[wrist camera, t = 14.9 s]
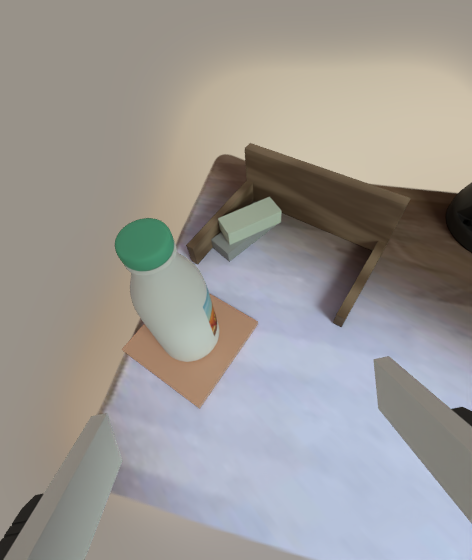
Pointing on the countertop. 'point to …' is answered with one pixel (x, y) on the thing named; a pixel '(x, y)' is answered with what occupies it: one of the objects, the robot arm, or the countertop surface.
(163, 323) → the milk bottle
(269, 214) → the offcut upper
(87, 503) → the robot arm
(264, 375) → the countertop surface
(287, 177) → the frame
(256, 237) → the offcut lower
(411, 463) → the countertop surface
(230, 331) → the tile pad
